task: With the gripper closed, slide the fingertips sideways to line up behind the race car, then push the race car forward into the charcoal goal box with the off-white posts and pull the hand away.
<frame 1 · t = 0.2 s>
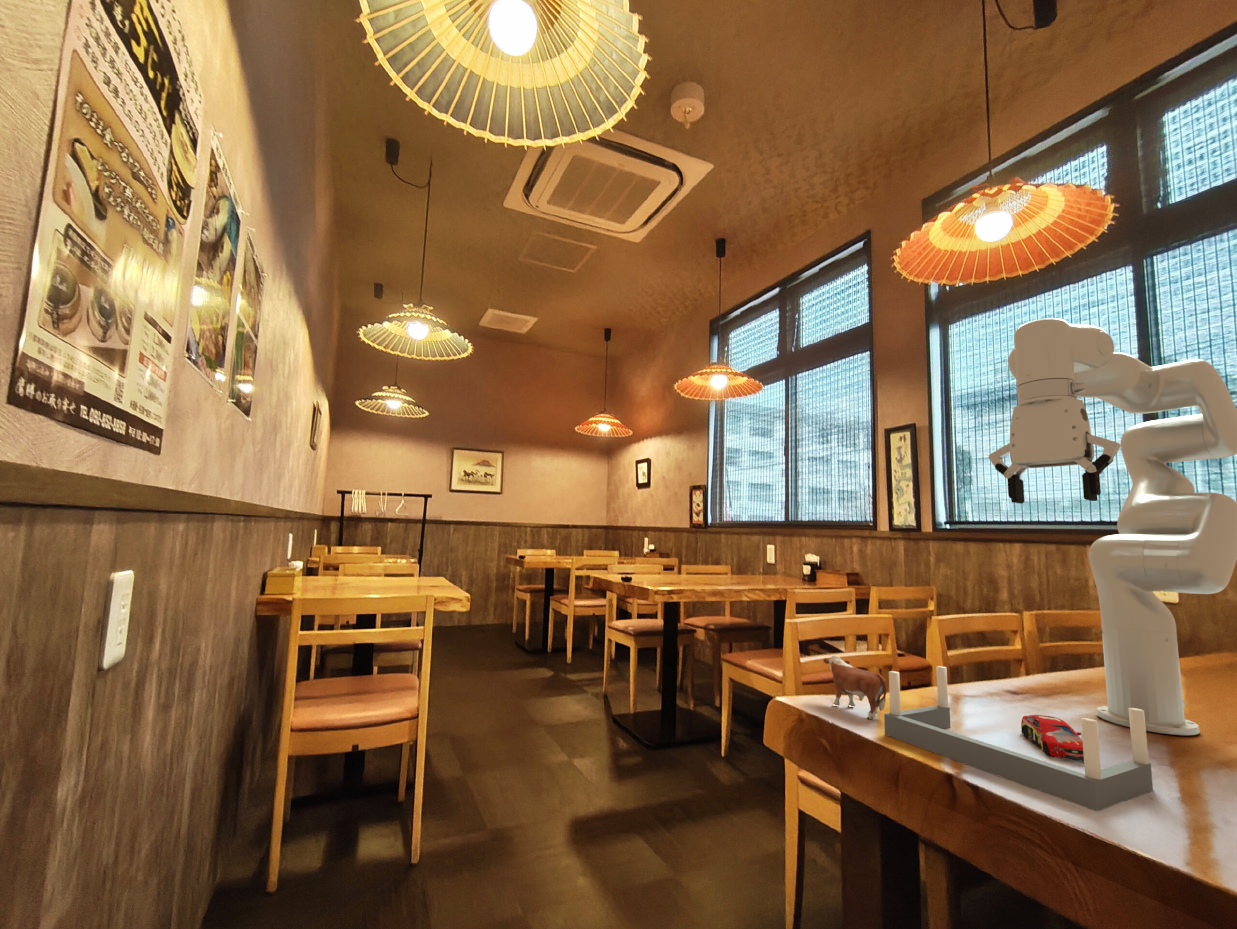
hand: (1052, 501, 89), 36 cm above the table, tool pointing down, fingers open, 9 cm apart
goal: (1007, 758, 76), on the table
bull figurine: (853, 711, 96), on the table
race car: (1054, 750, 81), on the table
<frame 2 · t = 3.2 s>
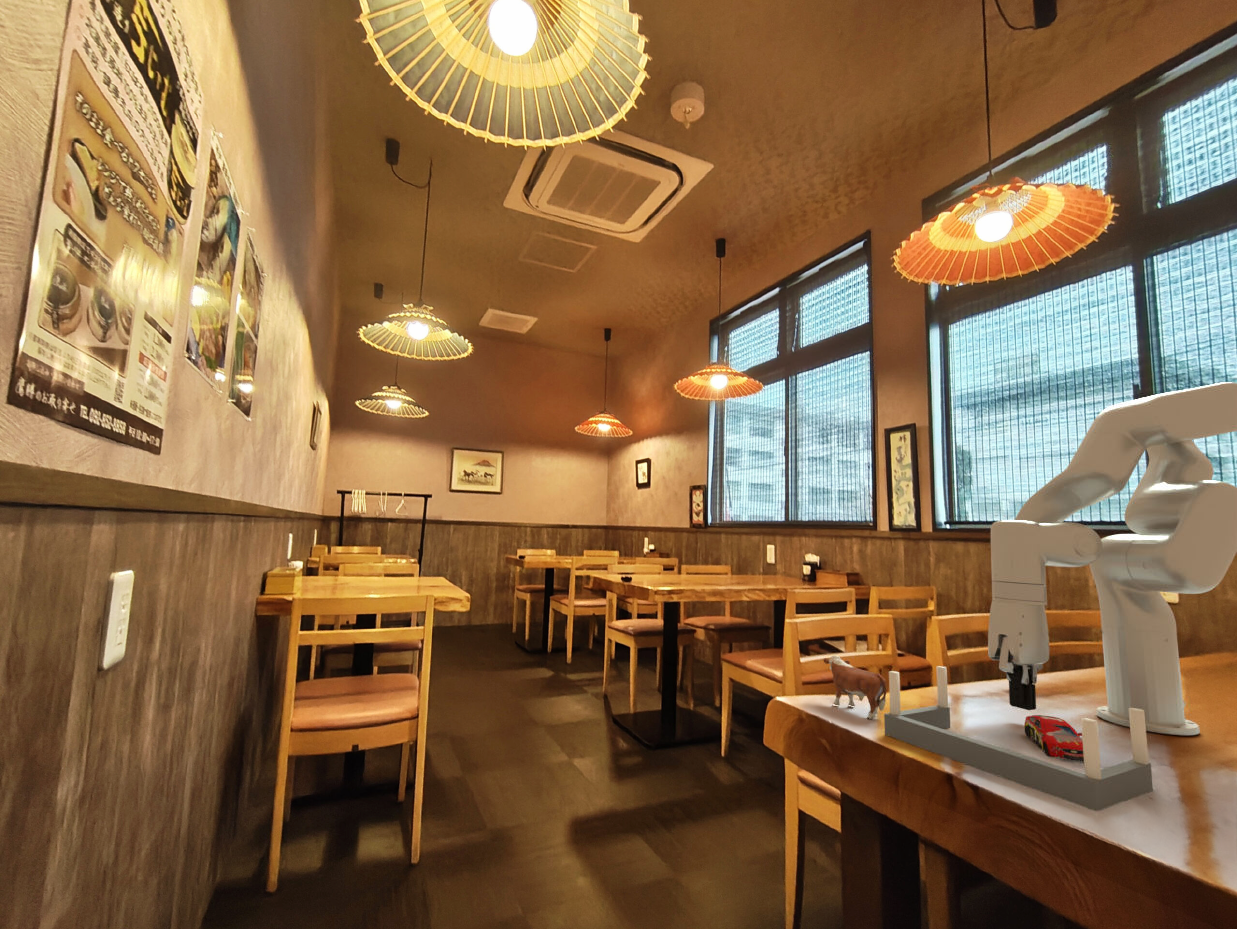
hand: (1022, 707, 92), 2 cm above the table, tool pointing down, fingers closed
nothing on the table moved.
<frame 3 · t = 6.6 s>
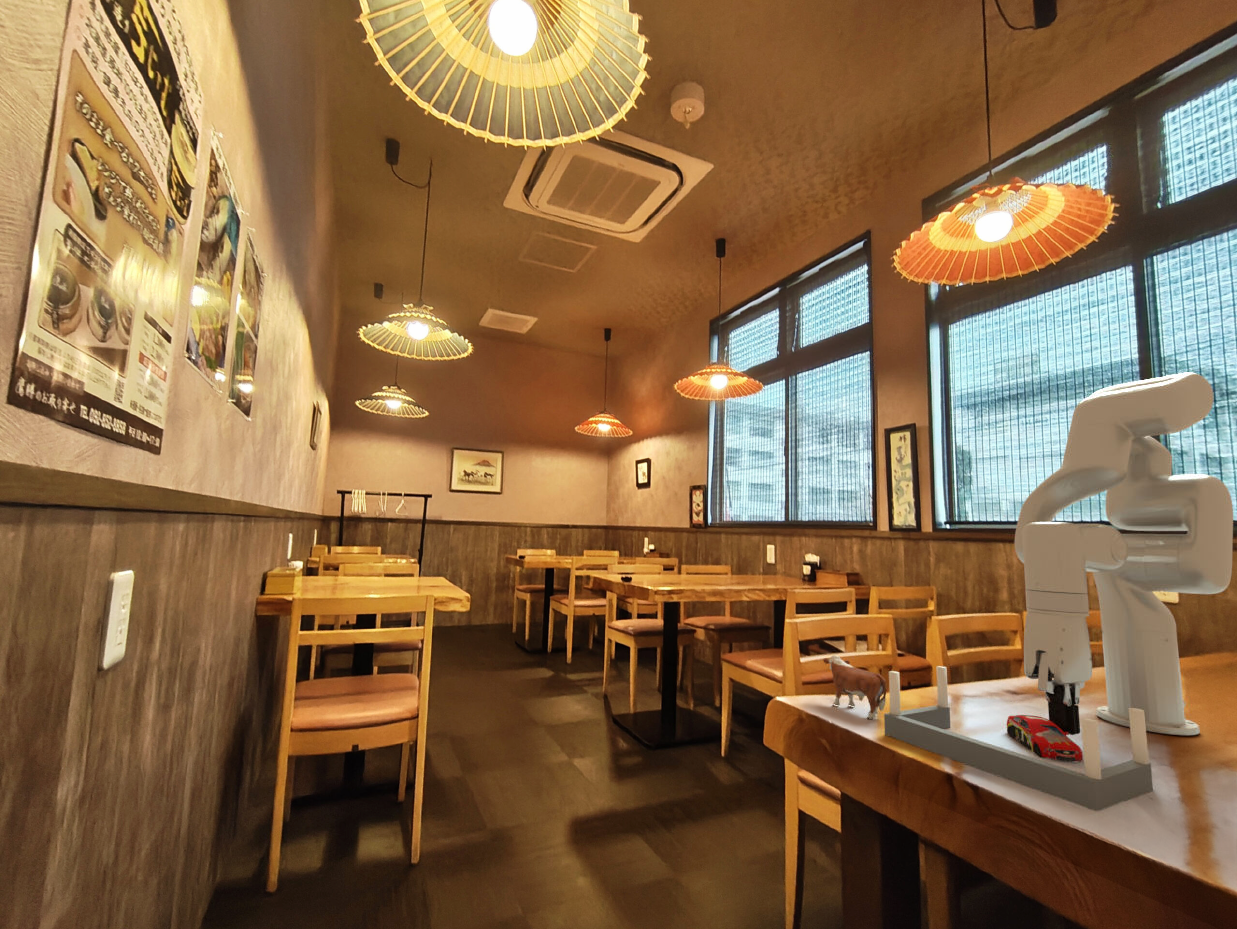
hand: (1064, 731, 83), 2 cm above the table, tool pointing down, fingers closed
race car: (1042, 750, 81), on the table
everything else where it was.
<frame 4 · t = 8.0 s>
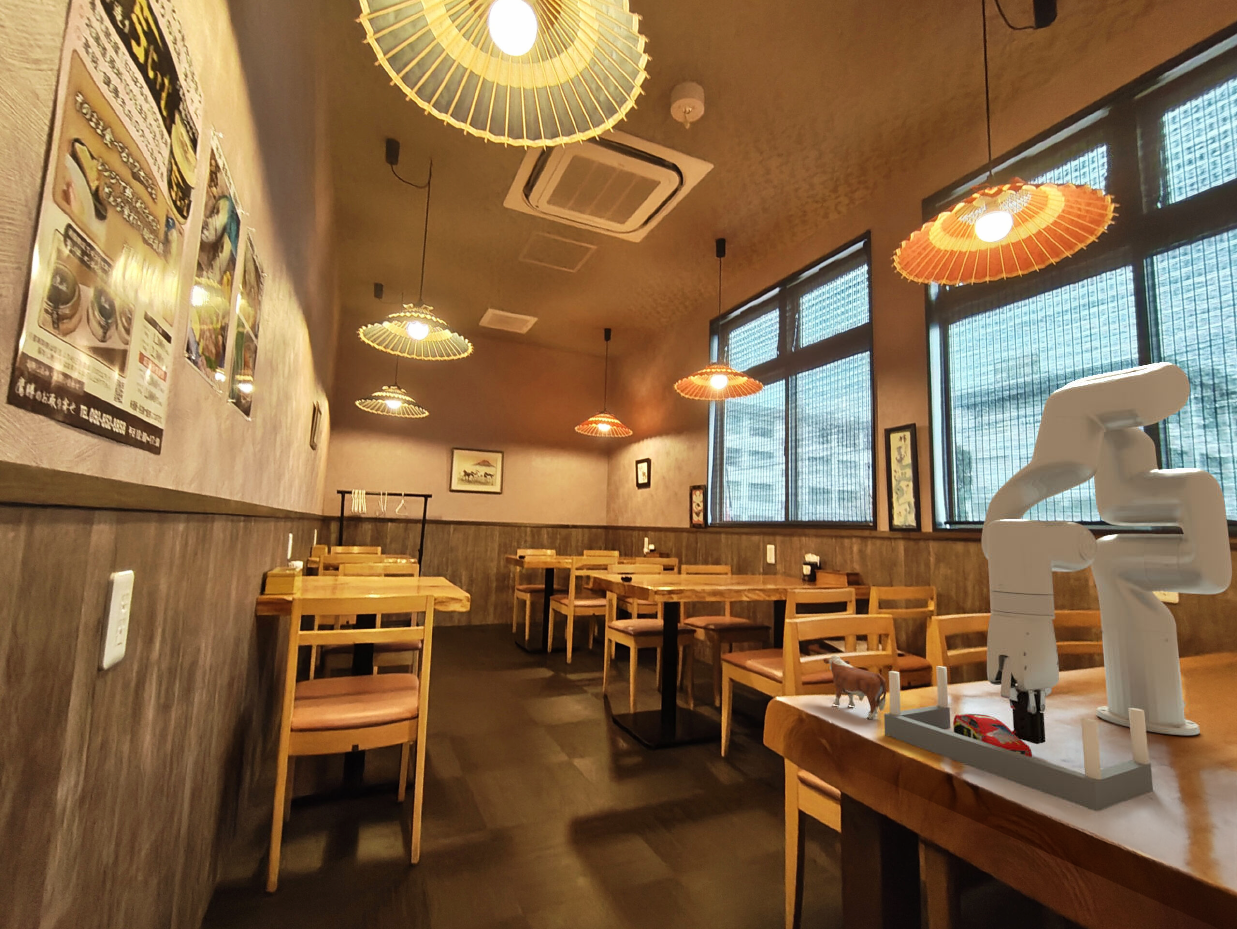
hand: (1029, 740, 78), 2 cm above the table, tool pointing down, fingers closed
race car: (990, 750, 80), on the table, touching gripper
everything else where it was.
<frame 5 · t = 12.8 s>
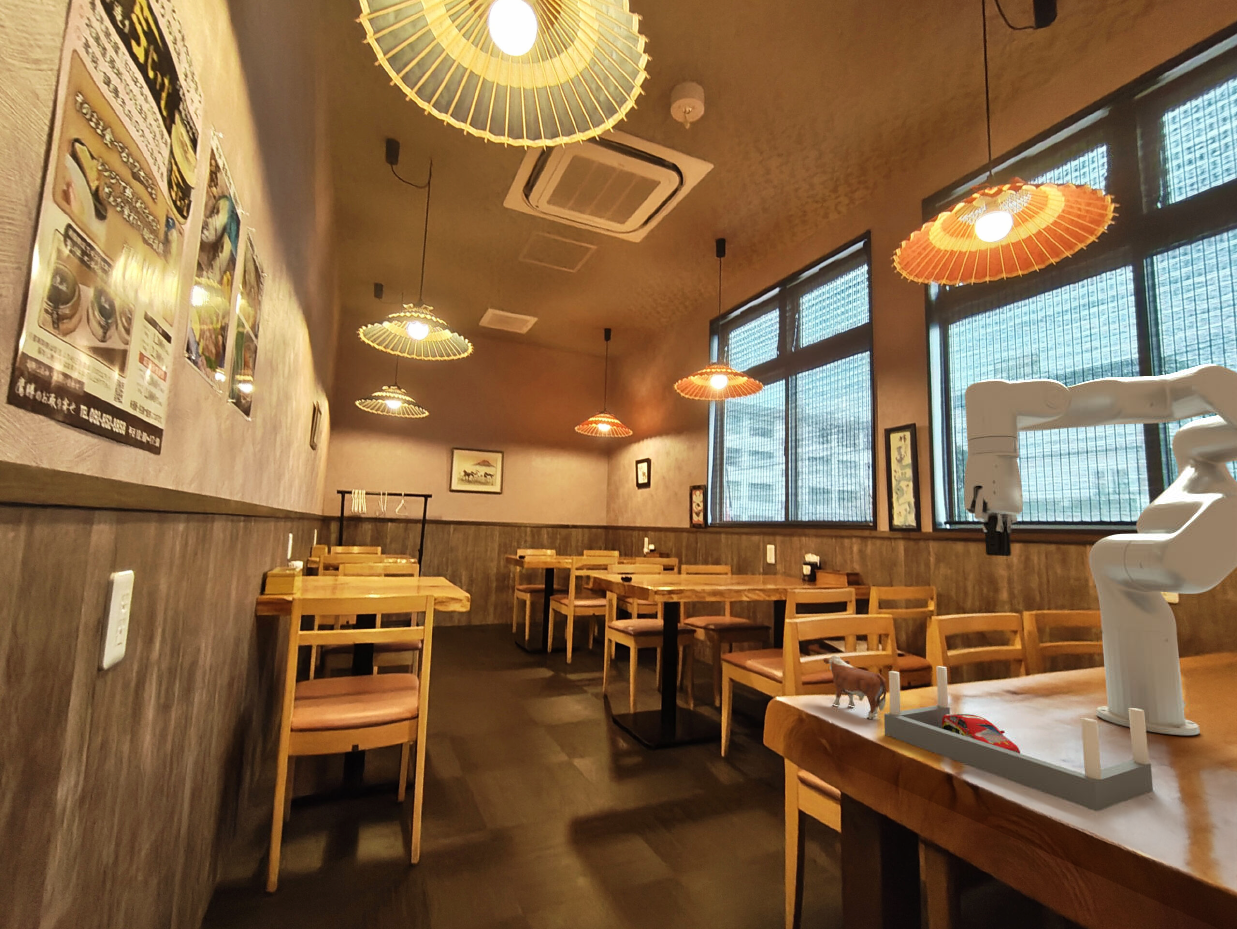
hand: (998, 555, 97), 27 cm above the table, tool pointing down, fingers closed
race car: (978, 750, 80), on the table
everything else where it was.
at the end: race car inside the target area (5.0 cm from its centre), on the table; race car tilted 0° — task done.
